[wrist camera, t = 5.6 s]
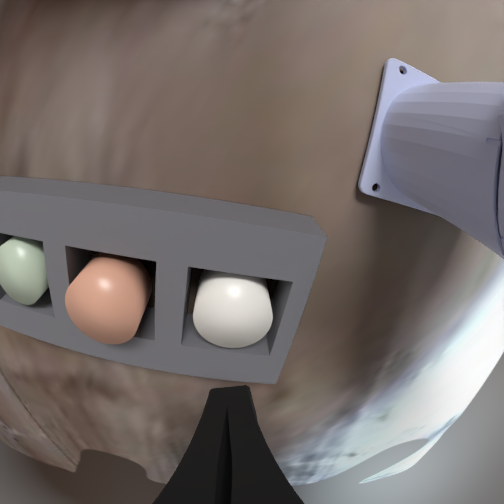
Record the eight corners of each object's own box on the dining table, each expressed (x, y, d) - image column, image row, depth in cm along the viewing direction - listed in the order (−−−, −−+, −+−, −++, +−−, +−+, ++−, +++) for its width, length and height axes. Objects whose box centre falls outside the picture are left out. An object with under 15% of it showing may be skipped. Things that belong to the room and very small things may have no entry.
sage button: (60, 229, 15) (34, 250, 12) (66, 285, 17) (45, 311, 14) (15, 222, 14) (-11, 239, 12) (23, 274, 16) (1, 297, 13)
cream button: (273, 262, 17) (281, 291, 14) (259, 318, 18) (263, 351, 16) (203, 252, 16) (196, 279, 14) (195, 310, 18) (190, 342, 15)
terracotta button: (153, 255, 15) (137, 285, 12) (151, 316, 16) (139, 351, 14) (85, 243, 14) (60, 270, 11) (90, 303, 16) (71, 334, 13)
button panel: (311, 216, 16) (327, 237, 13) (270, 352, 20) (275, 383, 17) (1, 175, 13) (-28, 188, 11) (18, 302, 17) (-1, 325, 15)
